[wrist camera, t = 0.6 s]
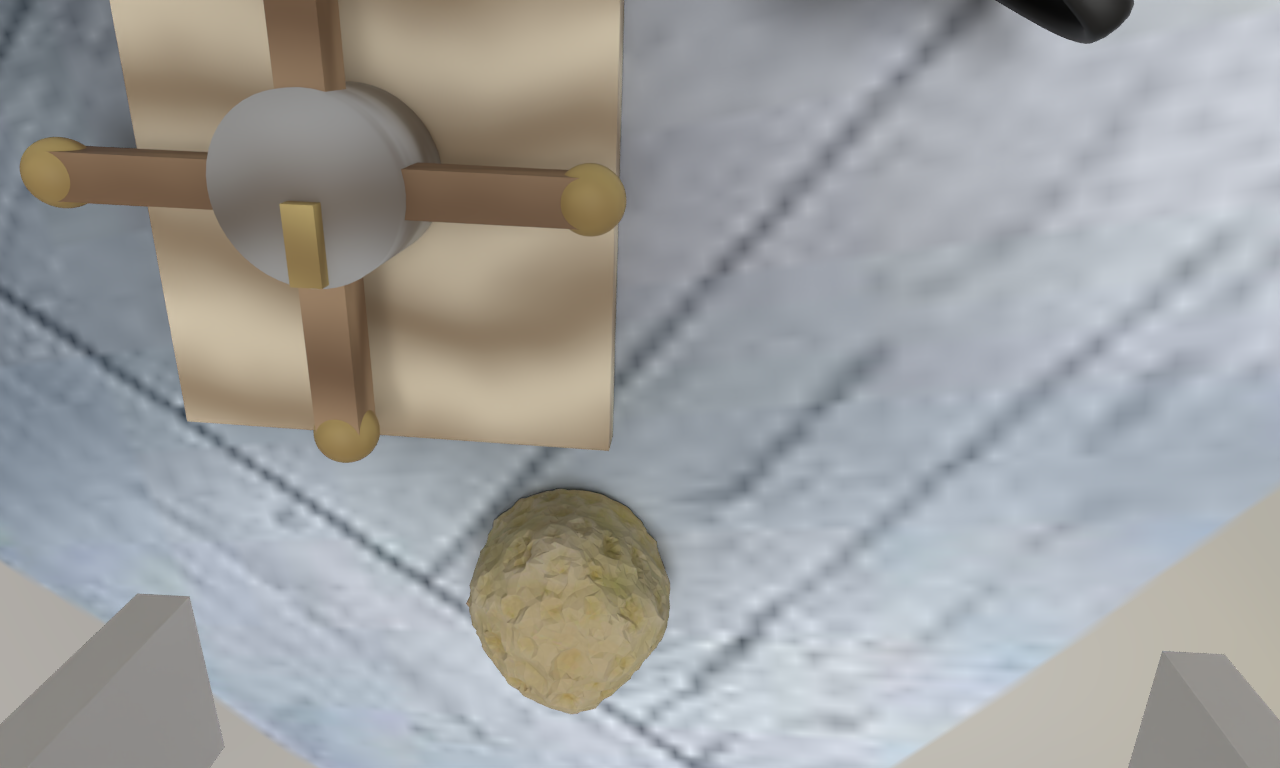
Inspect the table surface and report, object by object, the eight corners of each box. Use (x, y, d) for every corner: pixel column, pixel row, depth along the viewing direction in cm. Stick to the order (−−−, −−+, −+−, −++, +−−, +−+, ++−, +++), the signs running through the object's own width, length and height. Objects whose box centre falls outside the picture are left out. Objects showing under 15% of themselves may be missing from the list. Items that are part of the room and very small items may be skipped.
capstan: (27, -159, 31) (-112, -200, 26) (645, -143, 29) (631, -182, 24) (143, 407, 39) (57, 463, 34) (625, 441, 38) (611, 504, 33)
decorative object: (592, 606, 48) (685, 730, 40) (420, 623, 43) (489, 770, 35) (634, 460, 45) (743, 563, 38) (456, 458, 40) (540, 578, 32)
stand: (76, -299, 30) (14, -332, 28) (631, -291, 29) (623, -324, 27) (201, 407, 41) (165, 433, 38) (612, 436, 40) (605, 464, 37)
